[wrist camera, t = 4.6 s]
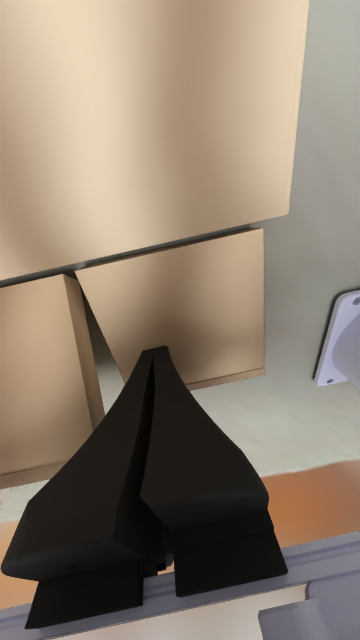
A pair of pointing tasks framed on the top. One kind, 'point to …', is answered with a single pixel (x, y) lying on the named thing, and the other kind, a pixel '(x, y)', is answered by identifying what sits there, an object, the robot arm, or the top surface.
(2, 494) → the white cup
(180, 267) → the plank
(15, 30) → the floor board
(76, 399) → the plank
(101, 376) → the top surface
